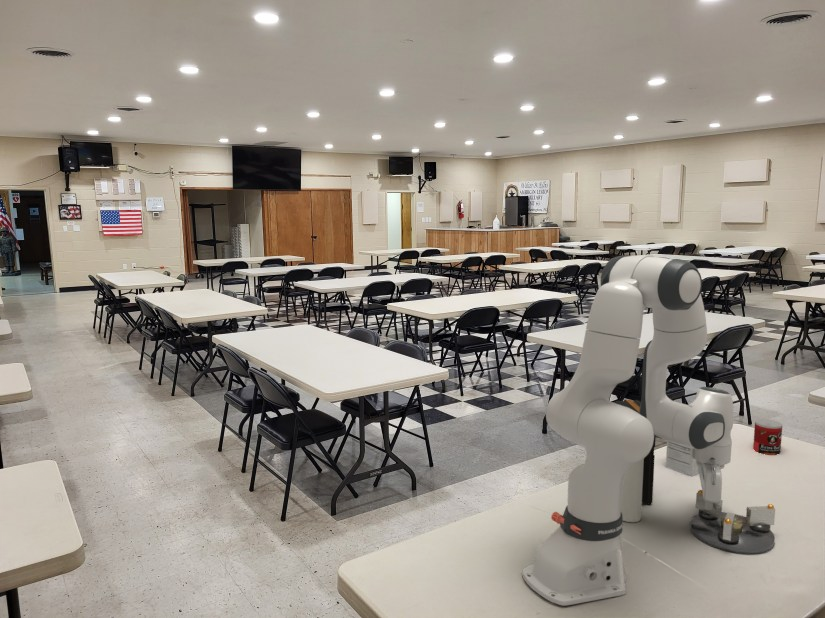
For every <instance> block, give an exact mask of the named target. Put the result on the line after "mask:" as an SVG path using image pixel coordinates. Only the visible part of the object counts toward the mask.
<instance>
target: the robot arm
mask: <svg viewBox="0 0 825 618" xmlns="http://www.w3.org/2000/svg"><path fill="white" fill-rule="evenodd" d="M699 271H700V270H698V268H697V267H696V265H695V264H694V263H693V262H690V261H687V260H685V259H679V258H674V259H671V258H667V257H661V256H654V255H649V254H648V255H647V254H646V255H644V254H643V255H641V254H640V255H638V254H637V255H629V254H624V255H623V254H622V255H618V256H615V257H613V258H610V259H609V260H608V261H607V262H606V264H605V265H604V267H603V269H602V270H601V275H600V287H599V288H598V290H597V291H596V294H595V296H594V299H593V301H592V305H591V307H590V311H589V313H588V314H589V315H588V317H587V321H586V326H585V327H586V328H585V334H584V338H583V342H582V343H583V344H582V348H581V353H580V359H579V362H578V365H577V368H576V370H575V372H574V374H573V375H572V378H571V379H570V381H569V383H567V385H566V386H565V387H564V388H563V389H562V390H560V391H558V392H557V393H555V394H554V395H553V396H552V397H551V399H550V400H549V401H548V402H547V406H546V409H545V410H546V411H545V418H546V419H545V420H546V423H547V424H548V425H547V426H548V427H549V428H550V429H551V430H552V431H554V432H555V433H556V434H558V435H559V436H561V437H562V438H563V439H564V440H567V441H569V442H571V443H573V444H576V445H578V446H580V447H583V448H585V450H586V458H585V461H584V463H581V464H579V465H576V467H575V468H573V469H572V470H571V471H570V473H569V474H568V477H567V479H568V480H567V481H568V482H567V505H566V507H565V509H564V511H563V513H562V514H560V512H558V511H554V512H552V514H551V517H550V518H551V520H552V521H553V522H555V523H556V524H558V525H559V526H558V527H557V528H556V529H555V530H554V531H553V532H552V534H550V536H549V537H547V538H546V539H545V540H544V541H543V542H542V543H541V544H540V545H539V546H538V547H537V549H536V550H535V554H534V559H533V563H531V564H529V565H527V566H525V567H524V568H523V569H522V573H521V574H522V578H523V580H524V581H525V582H526V584H527V585H528V586H529V587H530V588H531V589H532V590H533V591H534V592H536V593H537V594H538V595H539V596H541V597H543V598H544V599H545V600H547V601H549V602H552V603H554V604H556V605H559V606H562V607H563V606H570V605H577V604H581V603H586V602H587V603H588V602H593V601H599V600H603V599H607V598H613V597H619V596H625V595H626V593H627V588H626V584H625V583H626V581H627V574H626V571H625V568H624V567H625V566H624V559H623V551H622V540H621V534H622V532H623V526H624V521H623V515H622V513H621V499H622V488H623V482H624V478H625V475H626V473H627V471H628V470H629V468H630V467H631V466H632V465H633V464H635V463H637V462H639V461H641V460H642V459H644V458H645V457H646V456H647V455H648V453H649V452H650V450H651V448H652V446H653V442H654V437H656V438H655V439H661V440H665V441H667V440H668V441H671V442H674V443H677V444H681V445H684V446H687V447H690V448H691V457H692V458H693V459H695V460H696V464H697V465H698V472H699V474H698V476H699V480H700V487H701V490H702V492H703V497H704V501H705V502H704V506H705V509H707V510H712V509H713V503H717V504H719V503H720V502H721V500H722V489H723V488H722V487H723V474H722V470H723V469H724V468H725V465H728V464H730V463H731V461H732V460H731V459H732V458H731V457H732V448H733V447H732V444H733V442H732V437H731V432H732V429H733V426H734V402H733V401H734V400H733V397H732V394H731V393H730V392H729V391H727V390H723V389H718V388H716V387H711V386H709V387H708V386H701V387H698V388H697V391H696V394H695V399H694V400H693V401H692V402H691V403H689V404H686V403H681V402H679V401H674V400H673V399H671V398H669V396H667V393H666V392H667V391H666V388H667V386H666V385H667V371H668V367H669V366H670V365H671V366H672V365H676V364H681V363H684V362H687V361H689V360H691V359H692V360H693V359H694V358H696V357H697V356H698V355H700V354H701V353H702V351H703V350H704V349H705V347H706V345H707V341H708V327H707V317H706V311H705V306H704V302H703V297H702V294H701V293H702V289H703V280H702V275H701V273H700V272H699ZM646 308H649V309H652V324H653V326H652V327H653V335H652V336H653V337H652V340H650V341H648V342H647V344H646V346H645V348H644V353H643V358H642V374H641V375H642V377H641V378H642V379H641V400H640V402H641V405H640V409H639V413H637V412H635V411H634V410H632V409H630V408H628V407H625V406H622V405H619V404H616V403H614V402H613V401H610V398H611V395H612V393H613V391H614V389H615V388H616V387H617V385H618V384H621V383H624V382H627V381H628V380H630V379H631V378H632V376H633V375H634V373H635V369H636V365H637V360H638V354H639V349H640V341H641V337H642V332H643V331H642V329H643V317H644V311H645V310H646Z"/></svg>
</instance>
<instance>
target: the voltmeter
mask: <svg viewBox="0 0 825 618" xmlns="http://www.w3.org/2000/svg"><path fill="white" fill-rule="evenodd" d="M613 403H616V404H619V405H622V406H625V407H628V408H630V409H632V410H634V411H635V412H637V413H639V409H640V405H641V401H640V400H638V399H635V400H632V399H623V400H616V401H614V402H613ZM656 439H657V438H656V437H654V442H653V446H652V448H651V450H650V452H649V453H648V455H647V456H646V457H645V458H644V465H643V486H642V504H647V505H649V506H651V505H652V504H653V496H654V477H655V475H654V474H655V473H654V472H655V447H656Z"/></svg>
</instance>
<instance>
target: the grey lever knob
mask: <svg viewBox="0 0 825 618" xmlns="http://www.w3.org/2000/svg"><path fill="white" fill-rule="evenodd" d="M745 517H746V523H747V524H748V525H749V528H750V529H752V530H753V531H756V532H759V533H768V532H770V530H771V526H774V525H775V519H776V508H775V506H774V505H773V504H772V503H771V504H770V503H769V504H768V505H766V506H765V505H764V506H763V505H762V506H761V505H760V506H759V505H758V506H746V515H745Z"/></svg>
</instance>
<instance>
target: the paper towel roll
mask: <svg viewBox="0 0 825 618" xmlns="http://www.w3.org/2000/svg"><path fill="white" fill-rule="evenodd" d="M643 465H644V459H642V460H641V461H639V462H637V463H635V464H633V465H632V466H631V467H630V468H629V470H628V471H627V473H626V475H625V478H624V482H623V488H622V499H621V513H622V515H623V522H628V523H637V522H639V521H641V519H642V509H643V507H642V504H643V503H642V486H643Z"/></svg>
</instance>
